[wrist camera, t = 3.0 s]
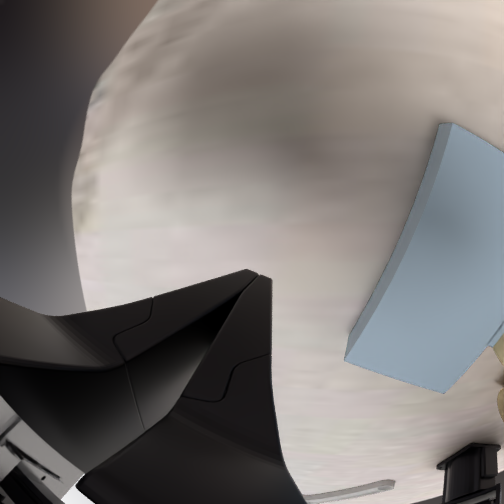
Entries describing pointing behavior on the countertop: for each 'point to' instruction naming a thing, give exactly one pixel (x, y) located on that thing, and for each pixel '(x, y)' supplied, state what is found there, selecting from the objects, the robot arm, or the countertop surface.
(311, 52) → the countertop surface
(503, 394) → the wooden tray with rolls
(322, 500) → the adjustable wrench
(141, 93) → the countertop surface
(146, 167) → the countertop surface
